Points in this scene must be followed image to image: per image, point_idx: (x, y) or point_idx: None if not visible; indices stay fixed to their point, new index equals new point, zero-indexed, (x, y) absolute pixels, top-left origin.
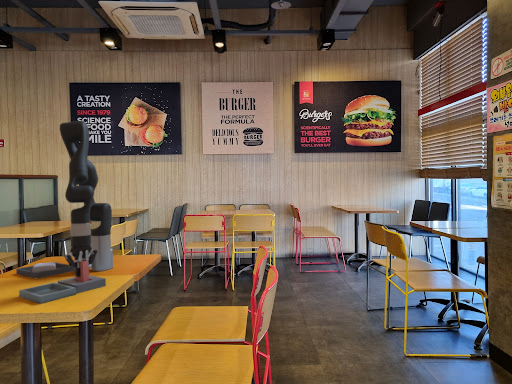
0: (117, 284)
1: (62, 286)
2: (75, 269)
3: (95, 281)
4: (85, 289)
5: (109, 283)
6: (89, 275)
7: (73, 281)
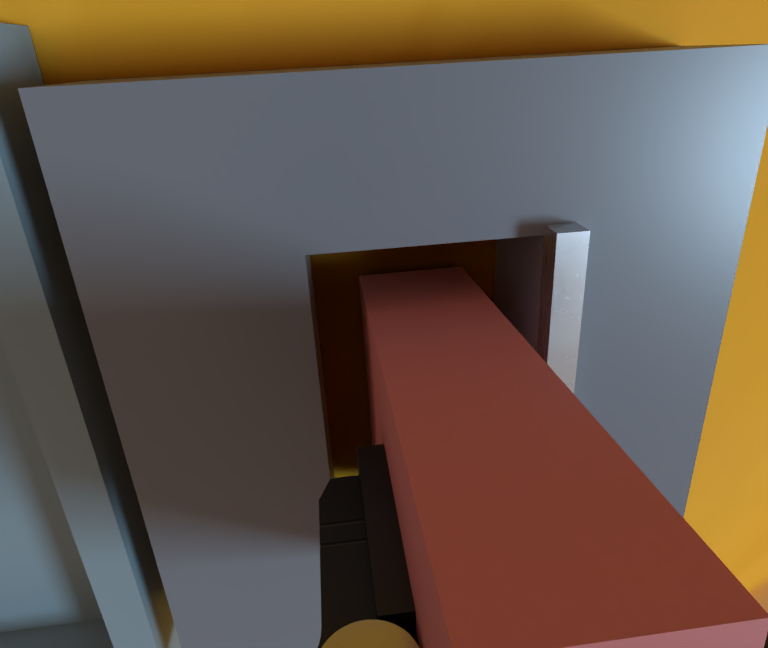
0: None
1: (51, 447)
2: (324, 617)
3: None
4: None
5: (714, 471)
6: (734, 212)
7: (268, 431)
